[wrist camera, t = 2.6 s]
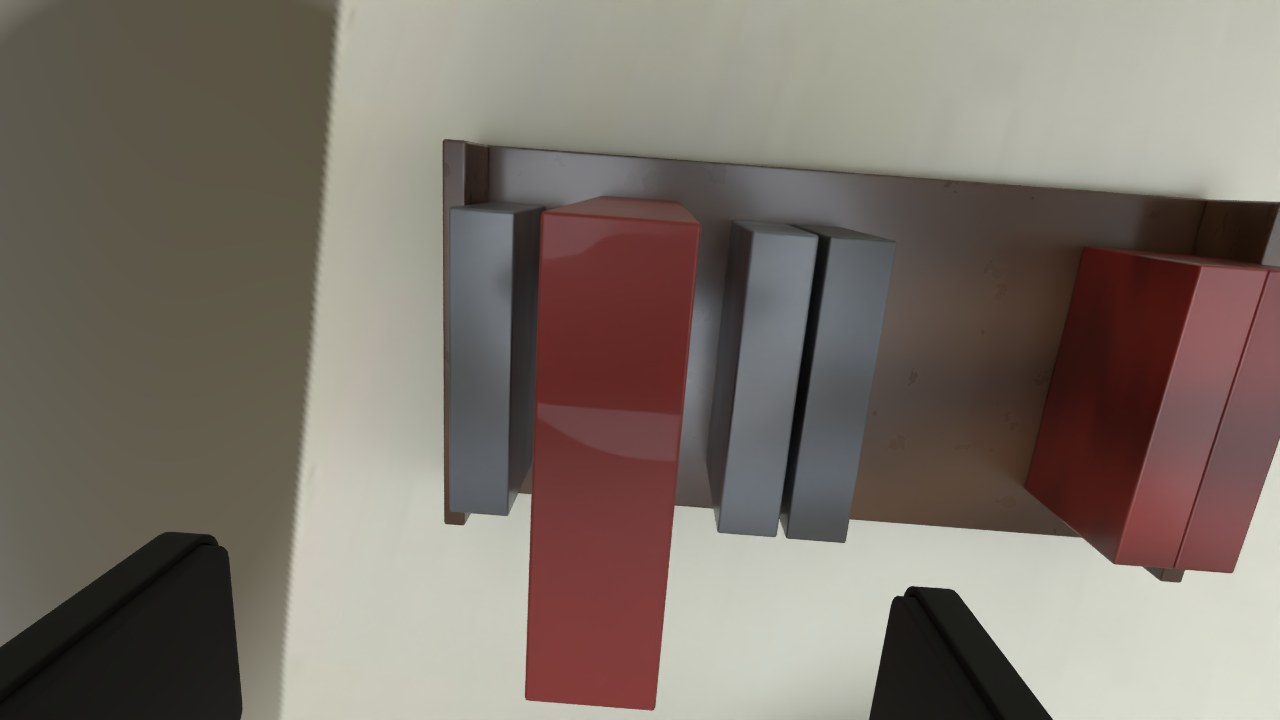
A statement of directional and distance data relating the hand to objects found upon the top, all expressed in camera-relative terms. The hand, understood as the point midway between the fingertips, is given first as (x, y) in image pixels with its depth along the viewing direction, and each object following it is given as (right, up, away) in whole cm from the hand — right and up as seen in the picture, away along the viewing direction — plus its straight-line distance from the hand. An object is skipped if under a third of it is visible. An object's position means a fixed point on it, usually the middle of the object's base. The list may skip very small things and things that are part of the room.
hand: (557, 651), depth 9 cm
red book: (+1, +5, +17) cm, 18 cm away
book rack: (+8, +4, +18) cm, 20 cm away
